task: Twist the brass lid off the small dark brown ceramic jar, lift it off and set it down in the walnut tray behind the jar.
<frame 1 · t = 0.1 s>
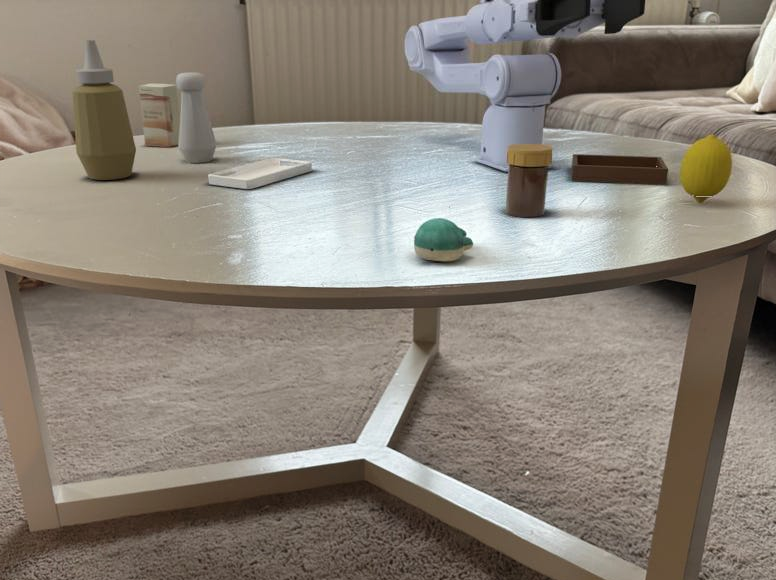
hand: (615, 5, 88), 22 cm above the table, tool horizontal, fingers open, 7 cm apart
phone case: (262, 178, 107), on the table
whale figurine: (443, 256, 73), on the table
salt shaker: (198, 161, 120), on the table
lemon: (699, 204, 92), on the table
cream carton box: (164, 146, 134), on the table
squeeze bottle: (110, 178, 108), on the table
jar lid: (529, 150, 85), point 7 cm above the table, screwed on, not yet turned
tray: (616, 176, 106), on the table
jar: (524, 212, 88), on the table
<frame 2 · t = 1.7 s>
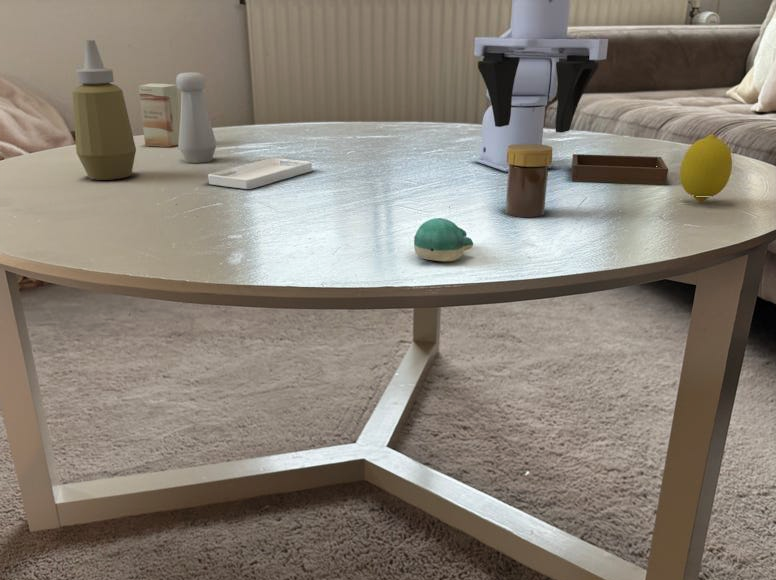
hand: (531, 128, 84), 9 cm above the table, tool pointing down, fingers open, 7 cm apart
nothing on the table moved.
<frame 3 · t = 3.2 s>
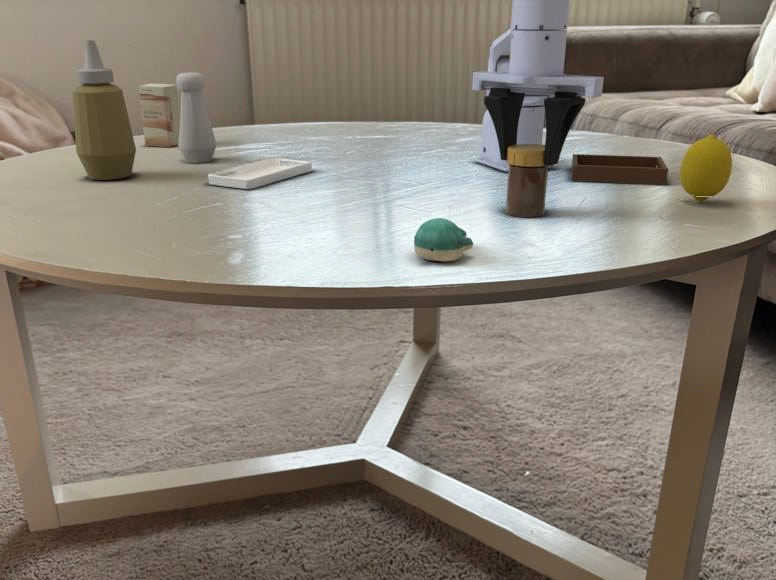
hand: (528, 161, 85), 6 cm above the table, tool pointing down, fingers closed on jar lid, 5 cm apart
jar lid: (529, 150, 85), point 7 cm above the table, screwed on, not yet turned, touching gripper
everything else where it was.
when the fingers open (2 cm above the table, at t = 6.2 s): jar lid stays where it is, point 7 cm above the table.
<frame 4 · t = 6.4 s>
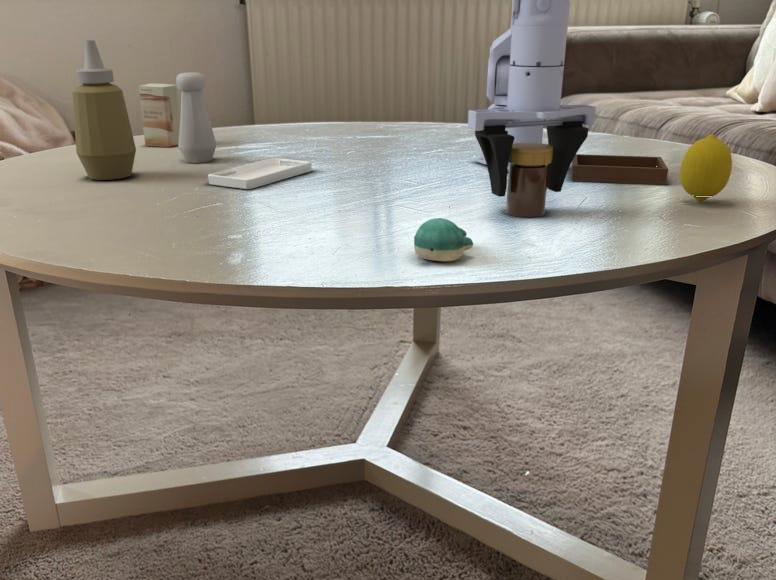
hand: (526, 192, 87), 2 cm above the table, tool pointing down, fingers open, 6 cm apart
jar lid: (530, 149, 85), point 7 cm above the table, turned 47° so far, risen 0.1 cm, still on its thread
everything else where it was.
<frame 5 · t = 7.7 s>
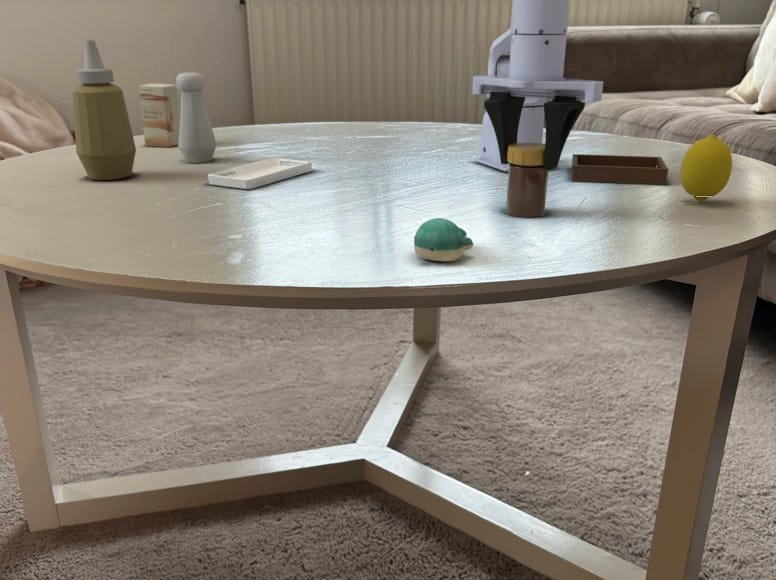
hand: (528, 165, 85), 5 cm above the table, tool pointing down, fingers closed on jar lid, 5 cm apart
jar lid: (530, 149, 85), point 7 cm above the table, turned 47° so far, risen 0.1 cm, still on its thread, touching gripper
everything else where it was.
when the fingers open (6 cm above the table, at t = 9.4 s): jar lid stays where it is, resting on jar.
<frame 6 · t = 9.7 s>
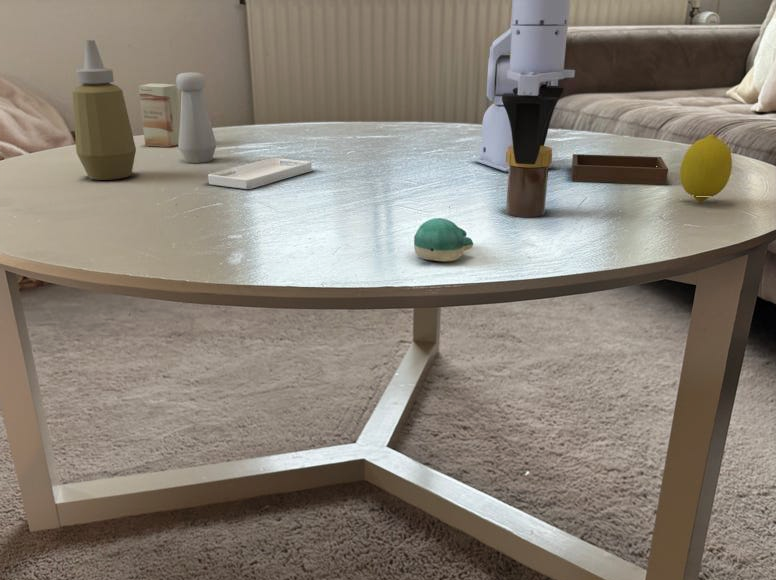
hand: (529, 157, 85), 6 cm above the table, tool pointing down, fingers open, 7 cm apart
jar lid: (529, 151, 85), point 7 cm above the table, off its thread, touching jar
jar: (525, 212, 88), on the table, touching jar lid
everything else where it was.
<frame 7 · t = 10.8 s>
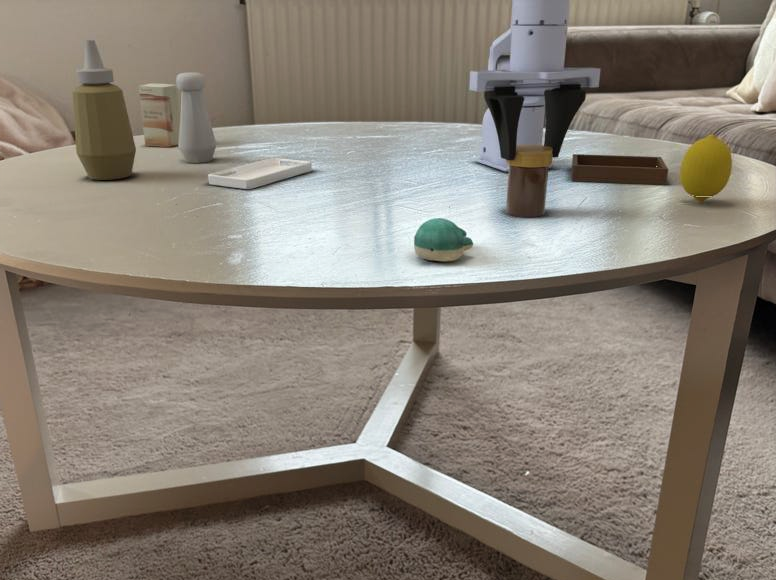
hand: (529, 157, 85), 6 cm above the table, tool pointing down, fingers closed on jar lid, 5 cm apart
jar lid: (529, 151, 85), point 7 cm above the table, off its thread, touching gripper, jar
everything else where it was.
when the fingers open (1 cm above the table, at t = 18.5 s): jar lid stays where it is, resting on tray.
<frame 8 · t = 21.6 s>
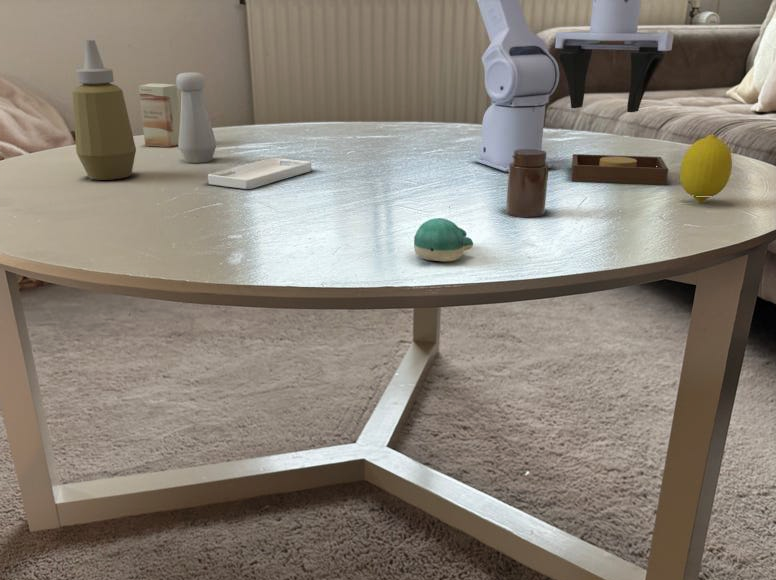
hand: (604, 109, 99), 9 cm above the table, tool pointing down, fingers open, 7 cm apart
jar lid: (618, 162, 105), point 2 cm above the table, off its thread, touching tray
jar: (525, 212, 88), on the table
everything else where it was.
at the end: jar lid came off its thread; jar lid inside the target area in the tray (0.0 cm from its centre), point 1.9 cm above the tray's base; the gripper is holding nothing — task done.
